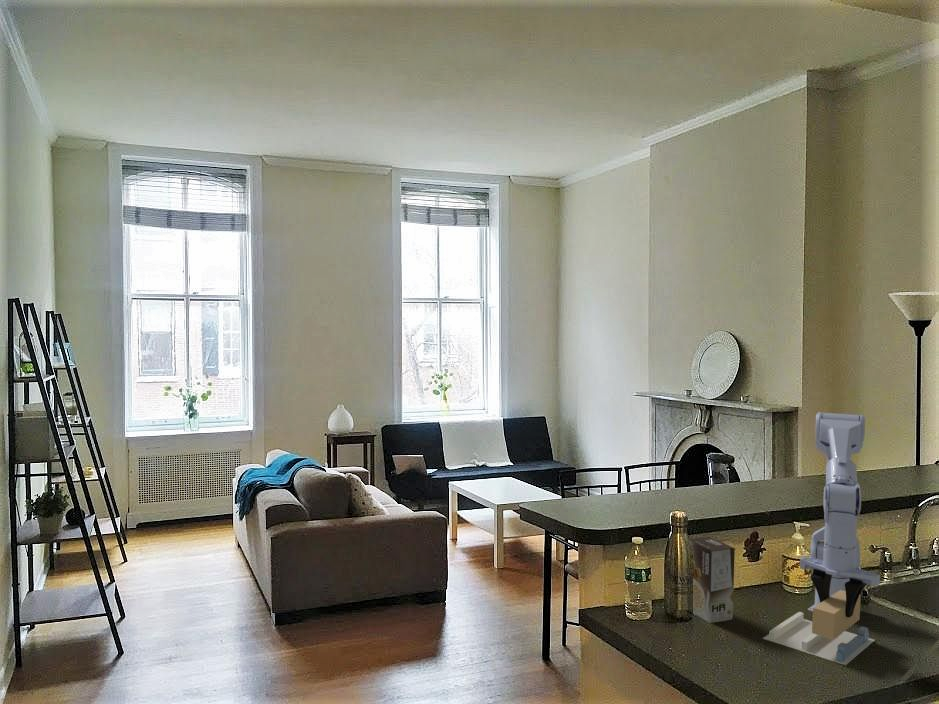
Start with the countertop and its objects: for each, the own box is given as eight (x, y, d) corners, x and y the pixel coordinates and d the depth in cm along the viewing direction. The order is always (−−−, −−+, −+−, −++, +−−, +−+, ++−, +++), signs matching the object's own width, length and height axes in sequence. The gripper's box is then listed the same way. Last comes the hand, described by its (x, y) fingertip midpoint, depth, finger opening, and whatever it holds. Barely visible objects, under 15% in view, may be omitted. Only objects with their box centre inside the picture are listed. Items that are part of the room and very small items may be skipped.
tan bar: (839, 613, 161) (840, 589, 161) (859, 619, 158) (860, 595, 158) (811, 633, 151) (812, 607, 151) (833, 639, 148) (834, 613, 148)
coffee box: (734, 621, 167) (737, 548, 166) (709, 625, 164) (712, 551, 164) (707, 606, 175) (709, 535, 174) (683, 609, 173) (685, 538, 172)
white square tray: (795, 619, 168) (796, 604, 168) (874, 642, 157) (875, 627, 157) (762, 641, 157) (763, 625, 157) (845, 668, 146) (846, 651, 146)
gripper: (794, 540, 156) (791, 607, 157) (872, 558, 146) (869, 629, 146) (808, 533, 161) (806, 598, 162) (884, 550, 151) (881, 618, 151)
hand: (836, 612), depth 154 cm, fingers closed on tan bar, 4 cm apart
